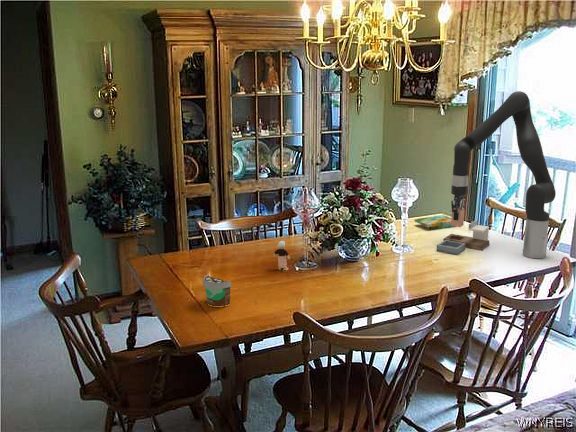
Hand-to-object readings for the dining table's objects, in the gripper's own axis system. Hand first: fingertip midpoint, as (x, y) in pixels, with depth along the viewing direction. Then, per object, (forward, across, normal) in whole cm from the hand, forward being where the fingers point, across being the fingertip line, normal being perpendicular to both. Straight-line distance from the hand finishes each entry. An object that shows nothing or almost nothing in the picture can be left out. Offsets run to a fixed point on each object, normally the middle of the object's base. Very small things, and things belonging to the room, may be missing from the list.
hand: (457, 218), depth 268 cm
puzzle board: (+12, 0, +5) cm, 13 cm away
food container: (+13, +122, -45) cm, 131 cm away
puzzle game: (+12, -23, -20) cm, 32 cm away
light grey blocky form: (+10, 0, +10) cm, 14 cm away
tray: (+12, +12, +2) cm, 18 cm away
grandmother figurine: (+12, +78, -48) cm, 92 cm away
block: (+3, 0, 0) cm, 3 cm away
